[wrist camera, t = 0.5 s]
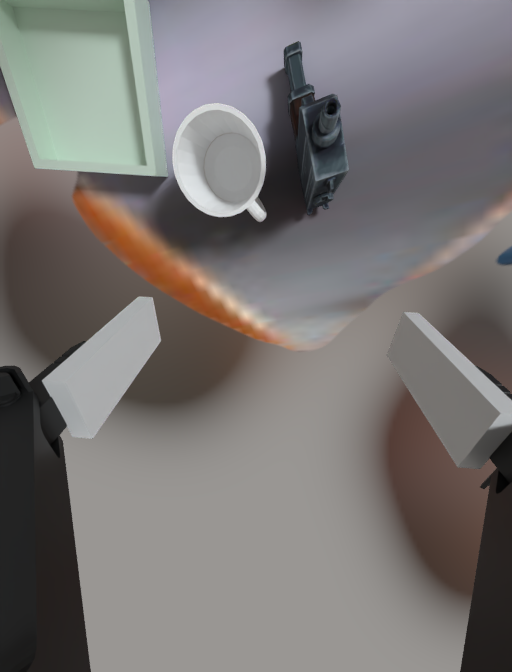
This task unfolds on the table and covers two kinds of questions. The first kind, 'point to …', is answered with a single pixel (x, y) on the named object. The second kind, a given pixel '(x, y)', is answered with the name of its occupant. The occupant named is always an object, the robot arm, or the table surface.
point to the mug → (220, 161)
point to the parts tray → (84, 84)
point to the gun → (315, 135)
